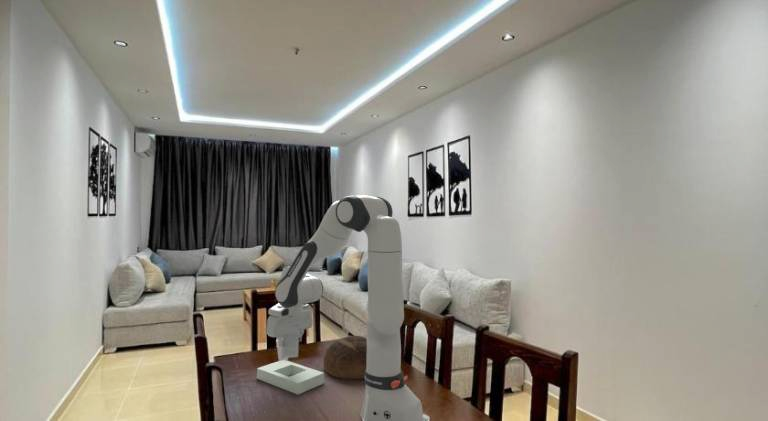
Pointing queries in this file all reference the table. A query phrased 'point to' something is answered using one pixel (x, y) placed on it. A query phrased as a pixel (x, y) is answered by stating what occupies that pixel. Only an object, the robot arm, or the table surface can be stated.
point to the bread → (347, 358)
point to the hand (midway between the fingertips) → (290, 343)
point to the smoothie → (280, 352)
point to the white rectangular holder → (296, 383)
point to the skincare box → (291, 343)
